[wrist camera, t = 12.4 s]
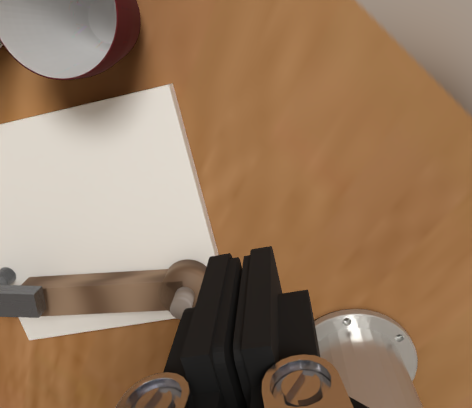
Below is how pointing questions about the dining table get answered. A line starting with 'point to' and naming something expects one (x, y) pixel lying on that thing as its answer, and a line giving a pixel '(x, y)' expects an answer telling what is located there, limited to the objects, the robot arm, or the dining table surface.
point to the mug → (68, 35)
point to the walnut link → (123, 290)
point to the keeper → (19, 297)
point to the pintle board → (100, 198)
